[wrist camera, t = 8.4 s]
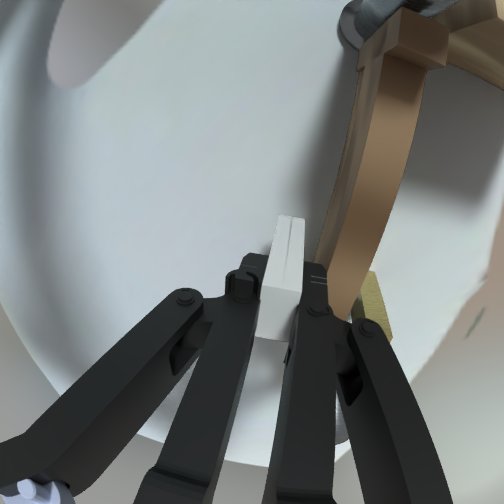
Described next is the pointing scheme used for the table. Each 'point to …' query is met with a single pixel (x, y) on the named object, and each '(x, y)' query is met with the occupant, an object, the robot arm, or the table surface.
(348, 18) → the hinge post
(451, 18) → the fence panel
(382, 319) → the post
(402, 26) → the gate
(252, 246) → the table surface
